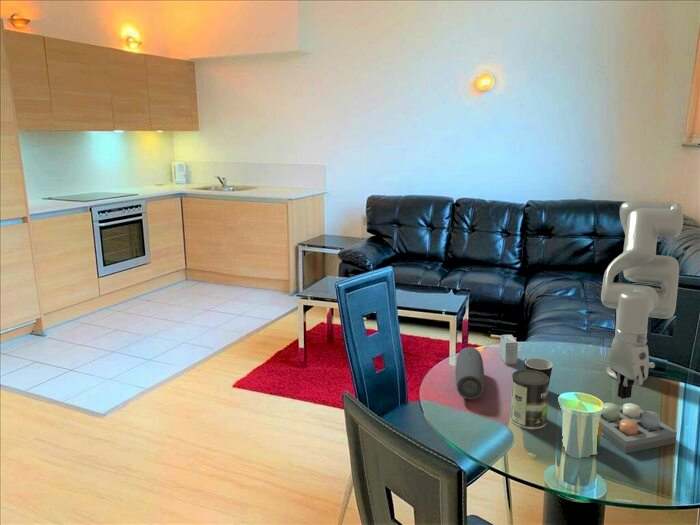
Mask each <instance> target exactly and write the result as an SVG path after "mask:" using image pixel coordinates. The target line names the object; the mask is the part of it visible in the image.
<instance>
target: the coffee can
mask: <svg viewBox="0 0 700 525" xmlns="http://www.w3.org/2000/svg"><path fill="white" fill-rule="evenodd" d="M511 378H512V380H511V381H512V382H511V403H510V404H511V405H510V406H511V408H510V421H511V423H513V424H514V425H515V426H517V427H519V428H522V429H524V430H525V429H526V430H540V429H542V428H544V427H546V425H547V419H548V417H547V416H548V403H549V402H548V400H549V386H550V382H549V380H551V378H550V379H549V377H548V376H547V375H546V374H544V373H542V372H540V371H536V370H529V369H525V368H524V369H519V370H515V371H513V373H512V374H511Z"/></svg>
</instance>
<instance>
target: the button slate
mask: <svg viewBox="0 0 700 525" xmlns="http://www.w3.org/2000/svg"><path fill="white" fill-rule="evenodd" d="M660 421H661V415H660V414H659V413H657V412H654V411H651V410H644V412H642V419H641V425H642V426H643V427H644V428H647V429H650V430H657V429H659V425H660Z"/></svg>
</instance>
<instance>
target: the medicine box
mask: <svg viewBox="0 0 700 525" xmlns="http://www.w3.org/2000/svg"><path fill="white" fill-rule="evenodd" d="M499 342H500V343H499V347H500V348H499V356H500V358H501V360H502V361H503V363H504V364H505V365H506V366H507V365H508V366H509V365H518V348H519V347H518V346H519V345H518V344H519V343H518V341H517V340H516V339H515V337H514V336H513V334H501V335H500V340H499Z"/></svg>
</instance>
